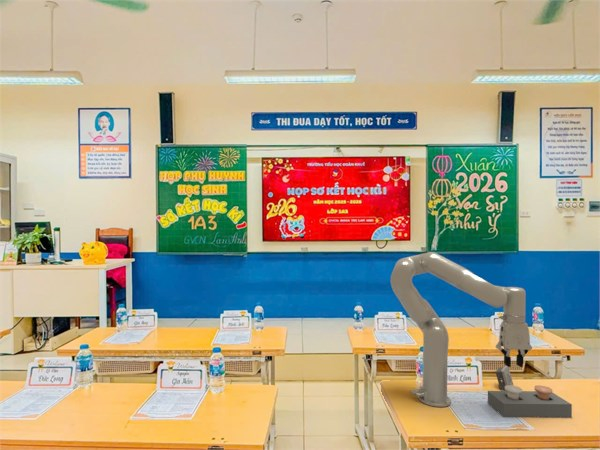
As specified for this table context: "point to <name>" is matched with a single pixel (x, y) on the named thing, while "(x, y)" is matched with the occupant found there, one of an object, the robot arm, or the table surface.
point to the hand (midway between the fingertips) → (513, 365)
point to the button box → (529, 405)
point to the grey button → (513, 392)
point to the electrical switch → (504, 377)
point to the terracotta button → (543, 392)
